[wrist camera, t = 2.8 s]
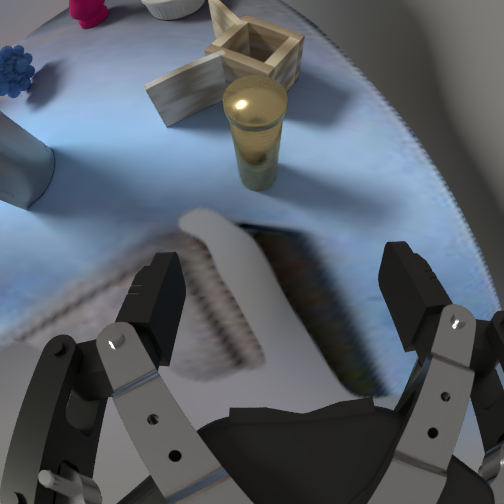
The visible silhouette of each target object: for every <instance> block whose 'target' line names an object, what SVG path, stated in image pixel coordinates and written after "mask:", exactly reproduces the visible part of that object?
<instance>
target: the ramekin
mask: <svg viewBox="0 0 504 504" xmlns="http://www.w3.org/2000/svg"><path fill="white" fill-rule="evenodd" d="M141 1H142V3H143V4H145V5H146V7H147V8H148V10H149V11H150V13H151V14H152V15H153V16H154V17H156V18H158V19H162V20H173V19H178V18H182V17H185V16H188V15H190V14H192V13H194V12H195V11H197V10H198V9H199V8H200V7H201V6H202V5H203V3H204V1H205V0H141Z"/></svg>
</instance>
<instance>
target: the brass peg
mask: <svg viewBox="0 0 504 504" xmlns="http://www.w3.org/2000/svg"><path fill="white" fill-rule="evenodd" d="M222 101H223V107H224V112H225V115H226V117H227V119H228V120H229V123H230V128H231V133H232V138H233V144H234V149H235V154H236V159H237V164H238V170H239V175H240V179H241V182H242V183H243V185H244V186H245V187H247V188H248V189H250V190H253V191H263V190H266V189H268V188H269V187H271V186H272V185H273V183H274V182H275V179H276V174H277V165H278V157H279V148H280V140H281V131H282V122H283V118H284V117H285V115H286V111H287V105H288V95H287V92H286V90H285V89H284V87H283V86H282V85H281V84H280V83H279V82H277V81H276V80H274V79H272V78H270V77H266V76H261V75H250V76H245V77H242V78H239V79H237V80H235V81H234V82H232V83H231V84H230V85H229V86H228V87H227V88H226V90H225V92H224V94H223V100H222Z"/></svg>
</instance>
